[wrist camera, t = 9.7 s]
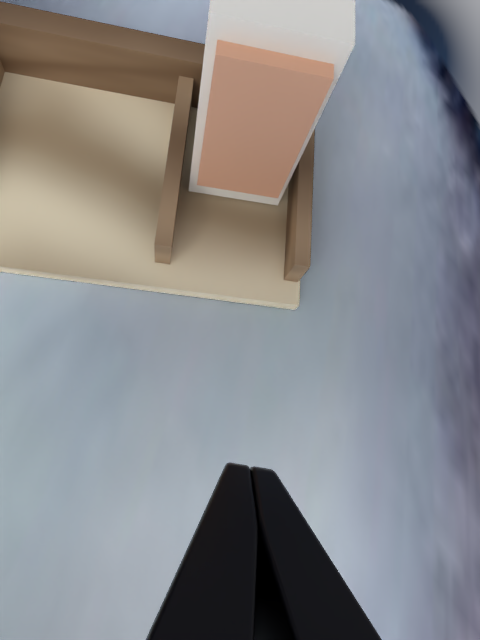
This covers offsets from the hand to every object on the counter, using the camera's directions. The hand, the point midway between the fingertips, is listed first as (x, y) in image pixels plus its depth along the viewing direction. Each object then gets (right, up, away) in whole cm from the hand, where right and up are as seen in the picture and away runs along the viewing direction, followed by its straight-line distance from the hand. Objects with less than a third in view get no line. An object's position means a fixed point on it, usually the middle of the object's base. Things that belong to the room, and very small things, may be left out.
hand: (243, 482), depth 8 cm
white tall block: (0, +10, +12) cm, 15 cm away
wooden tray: (-7, +9, +11) cm, 16 cm away
